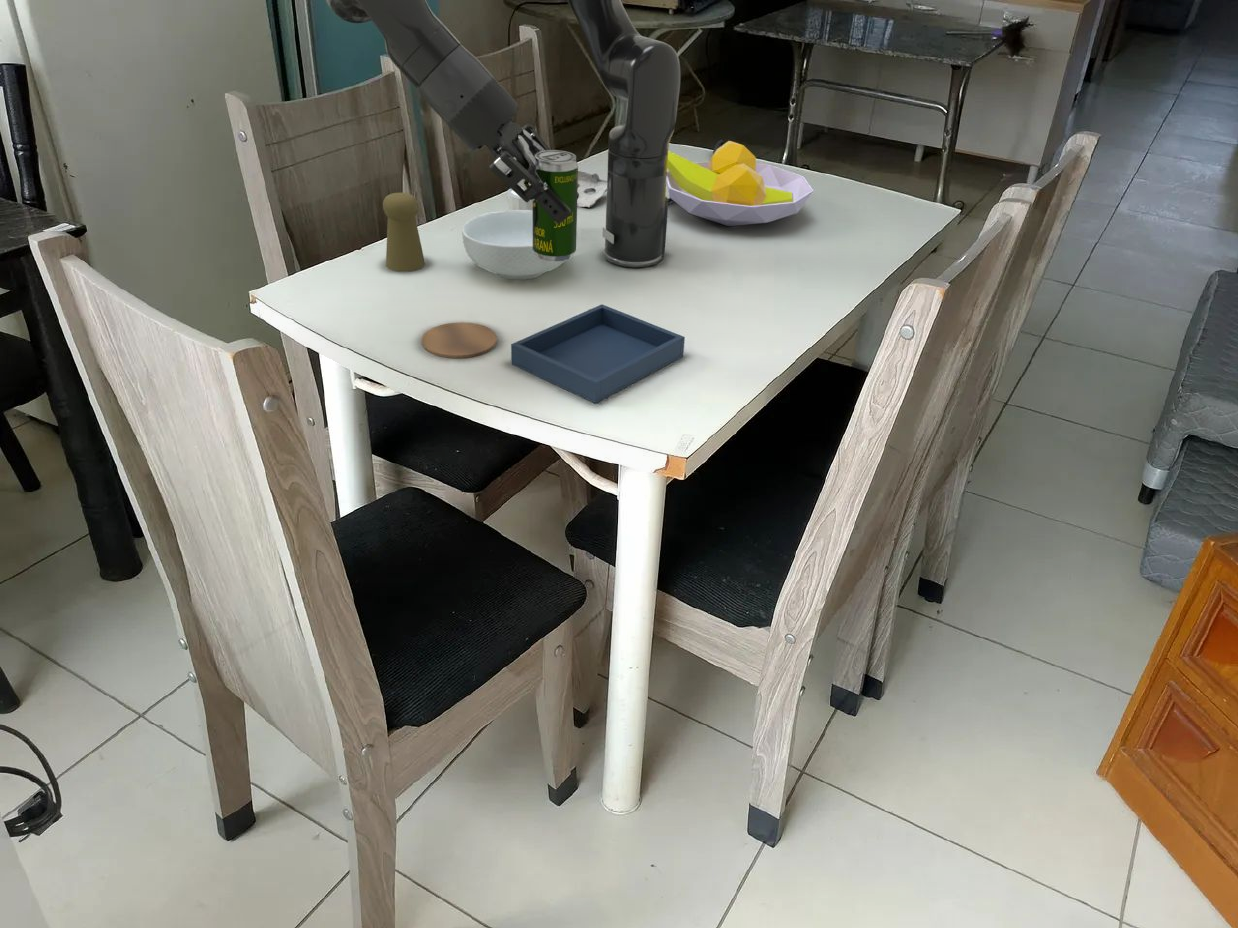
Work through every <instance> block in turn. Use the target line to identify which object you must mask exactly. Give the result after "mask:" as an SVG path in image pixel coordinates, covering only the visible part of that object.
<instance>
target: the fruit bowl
mask: <svg viewBox="0 0 1238 928" xmlns="http://www.w3.org/2000/svg"><path fill="white" fill-rule="evenodd" d="M666 188H667V192H668V197H669V198H671V199H672V200H674V201H673V202H675V203H676V204H678V205H679V206H680V207H681V208H682V209H684V211H686V212H687V213H689V214H691V215H693V216H696V217H700V218H703V219H705V220H709V221H711V222H715V223H717V224H721V225H724V226H726V227H734V226H735V227H736V226H745V225H746V226H747V225H757V224H767V223H772V222H774V221H777V220H780V219H783V218H786V217H790V216H792V215H795V214H798V213H799V212H800V211H801V209H802V208H803V206H804V205H805V203H806V202H807V201H808V200H809V198H810V197H811V195H812V194H813V192H814V191H815V190H814V189H813V188H812V186H811V185H810V183H809V182H808V180H807V179H806V178H805V176H803V175H801V174H798V173H795V172H792V171H789V170H786V169H783V168H780V167H778V166H775V165H772V164H765V163H758V162H757V157H756V156H755V154H753V153H752V152H751V151H750V150H749V149H748V148H747V147H746V146H745V145H744V144H740V143H738V142H735V141H731V140H728V141H726V142H724V145H722V146H721V145H720V146H719V147H718V149H717V150H716V151H715V153H714V154H713V153H712V155H711V157H710V159H709V160H708V161H695V162H693V161H692V160H689V159H687V158H685V157H682V156H680V155H678V154H677V153H674V152H672V151H670V150H668V164H667V180H666Z"/></svg>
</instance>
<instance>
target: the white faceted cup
mask: <svg viewBox="0 0 1238 928" xmlns="http://www.w3.org/2000/svg"><path fill="white" fill-rule="evenodd" d="M520 187H521V186H520ZM521 188H522V187H521ZM522 189H523V188H522ZM506 194H507V195H506V196H507V204H508V205H507V206H508V210H530V211H533V203H532V200H530V201H529V202H525V201H524V200H523V199H522V198H521V197H520V196H519V195H517V194H516V193H515V192H514V191H513V190H512V189H511V188H510V187H509V189H507V191H506Z"/></svg>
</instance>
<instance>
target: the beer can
mask: <svg viewBox="0 0 1238 928" xmlns="http://www.w3.org/2000/svg"><path fill="white" fill-rule="evenodd" d="M534 158H535V159H536V160H537V162H538V163H539V165H540V168H541V169H540V174H541V175H542V176H543V178H544V179H545V181H546V182H547V183H548V185H549V187H550V188H552V190H553V191H554V192H555V193H556V194H557V195H558V196H559V197H560V198H561V199H562V200H563V201H564V203H565V204H566V205H567V206H568V207H569V208H570V210H571V213H570V215H569V216H568V217H567V218H566V219H565V220H563V221H562V222H561V223H556V222H555V221H554V220H553V219H552V218H551V217H550V216H549V214H548V213H547V212H546V211H545V210H544V209H543V208H542V207H541V206H540V205H539V204H538V202H537V200H536V201H535V202H533V201H532V203H533V251H534V253H535V255H536V256H537V257H538V258H540V259H542V260H546V261H564V262H565V261H569V260H571V259H572V258H573V257H574V255H575V253H576V251H577V232H578V231H577V229H578V227H577V225H578V206H577V190H578V171H579V164H578V162H577V155H576V154H574V153H572V152H570V151H565V150H558V149H550V150H547V151H541V152H538V153H536V154H535V155H534ZM550 188H549V189H550Z"/></svg>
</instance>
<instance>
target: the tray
mask: <svg viewBox="0 0 1238 928" xmlns="http://www.w3.org/2000/svg"><path fill="white" fill-rule="evenodd" d="M685 341H686V337H685V336H684V335H681V334H678V333H677V332H674V331H671V330H668V329H666V328H663V327H660V326H659V325H655V324H653V323H650V322H648V321H645V320H644V319H641V318H638V317H635V316H633V315H630V314H627V313H626V312H622V311H620V310H618V309H615V308H613V307H610V306H608V305H606V304H602V303H601V304H599V305H597V306H595V307H592V308H590V309H587V310H586V311H585V310H584V311H583V312H581V313H579V314H576V315H574V316H572V317H569V318H568V319H565V320H563V321H560V322H559V323H556V324H554V325H551V326H549V327H546V328H545V329H543V330H540V331H538V332H536V333H533V334H531V335H529V336H526V337H524V338H522V339H519V340H517V341H514V342H513V343H511V344H510V354H511V355H510V356H511V357H510V358H511V362H510V364H511V365H512V366H513V367H514V366H515V367H516V368H519V369H521V370H523V371H525V372H528V373H529V374H532V375H534V376H536V377H538V378H539V379H542V380H544V381H547V382H549V383H550V384H553V385H555V386H557V387H559V388H561V389H563V390H566V391H568V392H570V393H571V394H574V395H576V396H578V397H581V398H583V399H584V400H587V401H589V402H591V403H593V404H597V403H600V402H601V401H603V400H605V399H608V398H609V397H611V396H612V395H614V394H616V393H618V392H620V391H622V390H624V389H626V388H627V387H630V386H631V385H633V384H635V383H636V382H639V381H640V380H642V379H644V378H646V377H648V376H649V375H652V374H653V373H655V372H657V371H659V370H661V369H663V368H664V367H666V366H668V365H671V364H672V363H674V362H676V361H678V360H679V359H682V358H683V357H684V353H685V352H684V351H685Z"/></svg>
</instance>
